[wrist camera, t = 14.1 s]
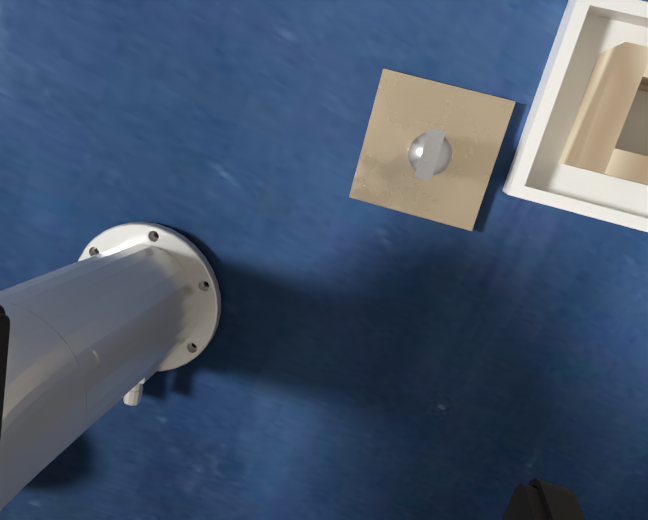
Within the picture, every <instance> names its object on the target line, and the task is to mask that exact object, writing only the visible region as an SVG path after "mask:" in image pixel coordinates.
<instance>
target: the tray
mask: <svg viewBox="0 0 648 520" xmlns="http://www.w3.org/2000/svg"><path fill="white" fill-rule="evenodd" d="M624 42H629V43H633V44H638V45H642V46H647V47H648V2H645V1H640V0H568V3H567V6H566V9H565V12H564V15H563V17H562V20H561V23H560V26H559V29H558V32H557V35H556V37H555V40H554V43H553V46H552V49H551V52H550V55H549V58H548V60H547V63H546V66H545V69H544V72H543V75H542V78H541V81H540V83H539V86H538V89H537V92H536V95H535V98H534V101H533V103H532V106H531V109H530V112H529V115H528V118H527V121H526V124H525V126H524V129H523V132H522V135H521V138H520V141H519V144H518V147H517V149H516V152H515V155H514V158H513V161H512V164H511V167H510V169H509V172H508V175H507V178H506V181H505V184H504V187H503V190H502V191H503V192H505V193H506V194H508V195H511V196H515V197H519V198H522V199H526V200H530V201H533V202H537V203H541V204H545V205H548V206H552V207H556V208H560V209H563V210H567V211H571V212H574V213H578V214H582V215H586V216H589V217H593V218H597V219H600V220H604V221H608V222H612V223H615V224H619V225H623V226H627V227H630V228H634V229H638V230H641V231H645V232H648V185H644V184H640V183H636V182H632V181H628V180H624V179H620V178H616V177H612V176H608V175H604V174H600V173H596V172H592V171H588V170H585V169H581V168H577V167H573V166H569V165H565V164H561V163H558V162H559V160H560V157H561V154H562V151H563V149H564V146H565V143H566V141H567V138H568V135H569V132H570V130H571V127H572V124H573V121H574V119H575V116H576V113H577V111H578V108H579V105H580V102H581V100H582V97H583V94H584V92H585V89H586V86H587V83H588V81H589V78H590V75H591V72H592V70H593V67H594V64H595V62H596V59H597V56H598V54H599V53H601V52H604V51H606V50H608V49H611V48H613V47H615V46H617V45H620V44H622V43H624ZM615 148H616V149H620V150H624V151H628V152H632V153H636V154H640V155H644V156H648V92H646V91H642V90H637V92H636V95H635V97H634V100H633V102H632V105H631V107H630V110H629V112H628V115H627V118H626V120H625V123H624V125H623V128H622V130H621V133H620V135H619V138H618V140H617V143H616V145H615Z"/></svg>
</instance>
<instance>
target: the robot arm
mask: <svg viewBox="0 0 648 520" xmlns="http://www.w3.org/2000/svg"><path fill="white" fill-rule="evenodd" d="M157 233H158V235H159V237H158V236H157ZM206 282H208V284H209V286H208V285H207V284H206ZM220 315H221V295H220V290H219V284H218V282H217V279H216V276H215V274H214V271H213V269H212V267H211V266H210V264H209V262H208V261H207V259H206V257H205V256H204V255H203V254H202V253H201V251H200V250H199V249H198V248H197V247H196V246H195V245H194V244H193V243H192V242H191V241H189V240H188V239H187V238H186V237H185V236H183V235H181V234H180V233H178V232H176V231H174V230H173V229H171V228H168V227H165V226H162V225H159V224H156V223H149V222H130V223H126V224H122V225H118V226H115V227H113V228H110V229H108V230H105V231H104V232H102V233H101V234H99V235H98V236H96V237H95V238H94V239H93V240H92V241H91V242H90V243H89V244H88V245H87V246H86V248H85V249H84V251H83V253H82V254H81V256H80V258H79V260H78V262H76V263H73V264H71V265H68V266H65V267H63V268H60V269H58V270H55V271H52V272H50V273H47V274H44V275H42V276H39V277H36V278H34V279H31V280H29V281H26V282H23V283H21V284H18V285H15V286H13V287H10V288H8V289H5V290H2V291H0V511H1V510H2V509H3V508H4V507H5V506H6V505H7V504H8V503H9V502H10V501H11V500H12V499H13V498H14V497H15V496H16V495H17V494H18V493H19V492H20V491H21V490H22V489H23V488H24V487H25V486H26V485H27V484H28V483H29V482H30V481H31V480H32V479H33V478H34V477H35V476H36V475H37V474H39V473H40V472H41V471H42V470H43V469H44V468H45V467H46V466H47V465H48V464H49V463H50V462H52V461H53V460H54V459H55V458H56V457H57V456H58V455H59V454H60V453H62V452H63V451H64V450H65V449H66V448H67V447H68V446H69V445H70V444H71V443H72V442H74V441H75V440H76V439H77V438H78V437H79V436H80V435H81V434H83V433H84V432H85V431H86V430H87V429H88V428H89V427H90V426H91V425H93V424H94V423H95V422H96V421H97V420H98V419H99V418H100V417H101V416H103V415H104V414H105V413H106V412H107V411H108V410H109V409H111V408H113V407H114V405H115V404H116V403H117V402H118V401H119V400H120V399H121V398H123V397H124V400H123V401H124V403H126V404H127V405H137V404H139V403H140V402H141V398H142V392H143V383H145V382H146V381H147V380H148V379H149V378H150V377H151V376H152V375H153V374H154V373H155V372H157V371H166V370H171V369H176V368H178V367H180V366H183V365H185V364H187V363H189V362H190V361H191V360H193V359H194V358H196V357H197V356H198V355H199V354H200V353H201V352H202V351H203V350H204V349H205V348H206V347H207V345H208V344H209V342H210V341H211V340H212V338H213V336H214V334H215V332H216V330H217V327H218V324H219V319H220ZM502 520H585V518H584V516H583V513H582V511H581V509H580V506H579V504H578V502H577V499H576V497H575V495H574V493H573V492H572V491H571V490H569V489H567V488H564V487H561V486H558V485H555V484H552V483H549V482H546V481H542V480H539V479H536V478H535V479H532V480H531V481H530V482H529V484H528V485H525V484H522V483H521V484H519V485H518V486H517V487H516V489H515V491H514V493H513V496H512V498H511V500H510V503H509V505H508V507H507V510H506V512H505V514H504V517H503V519H502Z"/></svg>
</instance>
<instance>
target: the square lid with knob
mask: <svg viewBox="0 0 648 520" xmlns="http://www.w3.org/2000/svg"><path fill="white" fill-rule="evenodd" d="M514 105H515V101H511V100H507V99H503V98H499V97H495V96H491V95H487V94H483V93H479V92H475V91H471V90H467V89H463V88H459V87H455V86H451V85H447V84H443V83H439V82H435V81H431V80H427V79H423V78H419V77H415V76H411V75H407V74H403V73H399V72H395V71H391V70H387V69H383V72H382V75H381V79H380V83H379V87H378V90H377V94H376V98H375V102H374V106H373V109H372V113H371V117H370V121H369V124H368V128H367V132H366V136H365V139H364V143H363V147H362V151H361V154H360V158H359V162H358V166H357V170H356V173H355V177H354V181H353V185H352V188H351V192H350V196H349V197H350V198H354V199H358V200H361V201H365V202H368V203H372V204H376V205H379V206H383V207H386V208H390V209H394V210H397V211H401V212H404V213H408V214H412V215H415V216H419V217H422V218H426V219H430V220H433V221H437V222H440V223H444V224H448V225H451V226H455V227H458V228H462V229H466V230H469V231H472V229H473V226H474V223H475V220H476V217H477V214H478V211H479V208H480V205H481V202H482V200H483V197H484V194H485V191H486V188H487V185H488V182H489V179H490V176H491V173H492V170H493V167H494V164H495V161H496V158H497V155H498V152H499V149H500V146H501V144H502V141H503V138H504V135H505V132H506V129H507V126H508V123H509V120H510V117H511V114H512V111H513V108H514Z"/></svg>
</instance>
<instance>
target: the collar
mask: <svg viewBox="0 0 648 520" xmlns="http://www.w3.org/2000/svg"><path fill="white" fill-rule="evenodd" d="M637 90H642V91H646V92H648V47H647V46H642V45H638V44H633V43H629V42H624V43H622V44H620V45H617V46H615V47H613V48H611V49H608V50H606V51H604V52H601V53H599V54H598V56H597V59H596V62H595V64H594V67H593V70H592V72H591V75H590V78H589V81H588V83H587V86H586V89H585V92H584V94H583V97H582V100H581V102H580V105H579V108H578V111H577V113H576V116H575V119H574V121H573V124H572V127H571V130H570V132H569V135H568V138H567V141H566V143H565V146H564V149H563V151H562V154H561V157H560V160H559V162H558V163H561V164H565V165H569V166H573V167H577V168H581V169H585V170H588V171H592V172H596V173H600V174H604V175H608V176H612V177H616V178H620V179H624V180H628V181H632V182H636V183H640V184H644V185H648V156H644V155H640V154H636V153H632V152H628V151H624V150H620V149H616V148H615V145H616V143H617V140H618V138H619V135H620V133H621V130H622V128H623V125H624V123H625V120H626V118H627V115H628V112H629V110H630V107H631V105H632V102H633V100H634V97H635V95H636V92H637Z"/></svg>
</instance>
